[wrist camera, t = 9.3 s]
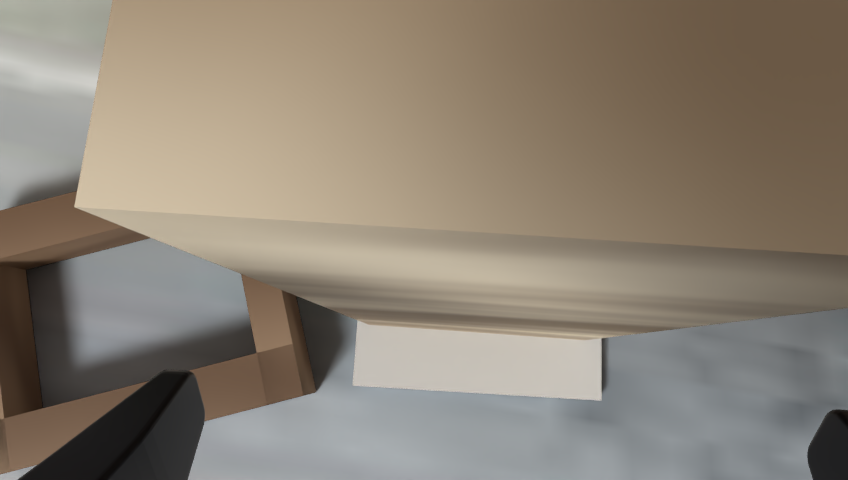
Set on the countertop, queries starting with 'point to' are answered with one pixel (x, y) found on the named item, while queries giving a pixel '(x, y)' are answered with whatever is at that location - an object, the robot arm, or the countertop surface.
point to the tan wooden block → (488, 155)
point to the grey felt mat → (477, 362)
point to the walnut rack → (56, 425)
